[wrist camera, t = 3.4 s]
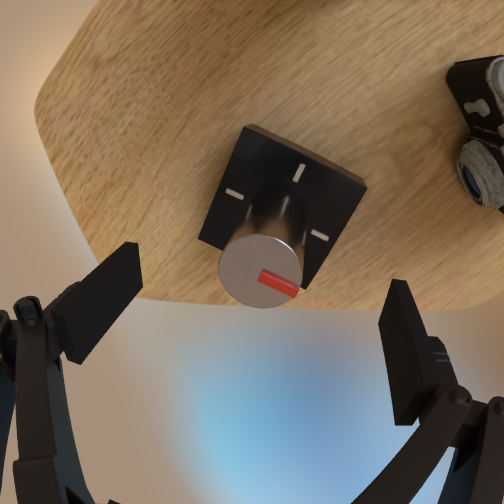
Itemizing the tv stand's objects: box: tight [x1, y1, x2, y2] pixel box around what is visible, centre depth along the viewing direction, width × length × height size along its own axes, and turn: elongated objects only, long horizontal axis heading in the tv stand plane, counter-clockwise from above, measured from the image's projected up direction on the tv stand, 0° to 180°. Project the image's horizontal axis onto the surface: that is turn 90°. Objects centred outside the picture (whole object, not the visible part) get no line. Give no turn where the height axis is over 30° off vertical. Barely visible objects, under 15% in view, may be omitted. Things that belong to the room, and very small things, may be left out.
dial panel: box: [198, 124, 367, 290], centre depth 26 cm, size 10×10×3 cm
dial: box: [218, 186, 307, 308], centre depth 21 cm, size 4×4×9 cm
